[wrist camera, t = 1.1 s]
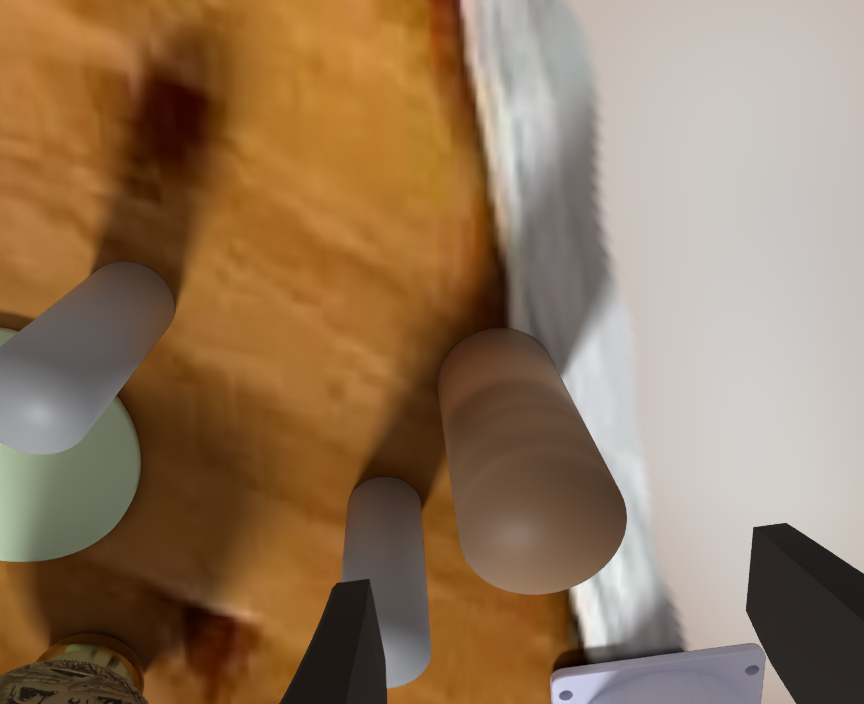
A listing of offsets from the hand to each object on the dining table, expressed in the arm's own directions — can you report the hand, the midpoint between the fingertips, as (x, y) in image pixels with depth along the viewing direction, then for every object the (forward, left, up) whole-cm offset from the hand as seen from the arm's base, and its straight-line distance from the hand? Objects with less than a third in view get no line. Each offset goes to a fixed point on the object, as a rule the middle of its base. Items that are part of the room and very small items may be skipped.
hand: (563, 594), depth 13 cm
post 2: (-4, +4, -9) cm, 11 cm away
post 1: (+4, +10, -9) cm, 14 cm away
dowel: (0, 0, -9) cm, 9 cm away
